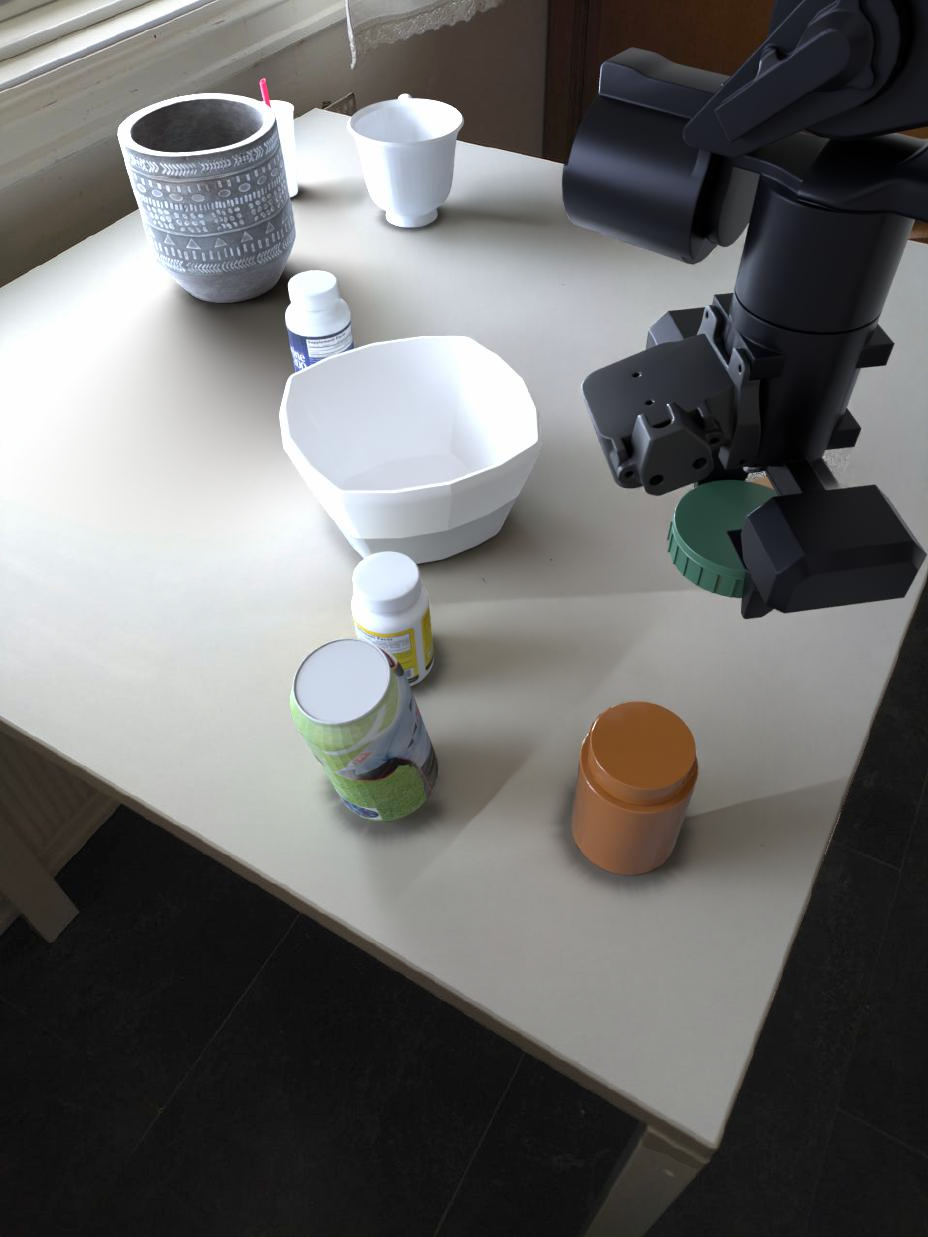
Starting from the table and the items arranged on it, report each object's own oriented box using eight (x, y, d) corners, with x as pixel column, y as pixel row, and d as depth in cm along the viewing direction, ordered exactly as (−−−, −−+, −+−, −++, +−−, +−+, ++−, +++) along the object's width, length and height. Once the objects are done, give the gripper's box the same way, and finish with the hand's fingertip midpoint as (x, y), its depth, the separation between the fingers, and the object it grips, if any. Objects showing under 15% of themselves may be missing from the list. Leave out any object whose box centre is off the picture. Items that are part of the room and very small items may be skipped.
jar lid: (653, 579, 46) (658, 551, 44) (682, 495, 50) (688, 466, 48) (790, 615, 44) (801, 586, 42) (809, 524, 48) (819, 495, 46)
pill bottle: (294, 372, 81) (275, 270, 74) (353, 363, 82) (339, 261, 75) (302, 407, 78) (283, 304, 70) (364, 397, 79) (350, 293, 71)
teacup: (461, 178, 106) (459, 85, 99) (468, 239, 97) (467, 140, 89) (359, 183, 106) (349, 90, 99) (356, 244, 96) (344, 146, 89)
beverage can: (460, 777, 54) (453, 651, 44) (373, 866, 50) (347, 749, 41) (384, 720, 56) (363, 591, 47) (297, 801, 53) (256, 678, 44)
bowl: (483, 416, 76) (482, 315, 69) (571, 555, 65) (580, 452, 58) (277, 467, 73) (254, 366, 65) (334, 623, 62) (313, 522, 55)
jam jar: (688, 799, 52) (716, 715, 46) (662, 891, 49) (688, 814, 42) (588, 766, 54) (602, 680, 47) (556, 853, 50) (566, 772, 44)
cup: (267, 206, 103) (246, 91, 94) (254, 187, 106) (232, 74, 97) (312, 196, 104) (295, 82, 95) (298, 178, 107) (280, 66, 98)
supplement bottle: (401, 623, 62) (390, 534, 55) (449, 661, 59) (444, 573, 53) (347, 662, 59) (329, 575, 53) (394, 704, 57) (382, 617, 51)
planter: (223, 332, 86) (182, 170, 74) (134, 283, 92) (84, 128, 81) (331, 272, 93) (309, 116, 81) (241, 231, 99) (209, 81, 88)
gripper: (558, 207, 41) (542, 471, 53) (684, 468, 29) (627, 734, 41) (791, 185, 42) (725, 450, 54) (1006, 430, 30) (860, 701, 42)
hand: (728, 567), depth 48 cm, fingers closed on jar lid, 6 cm apart
